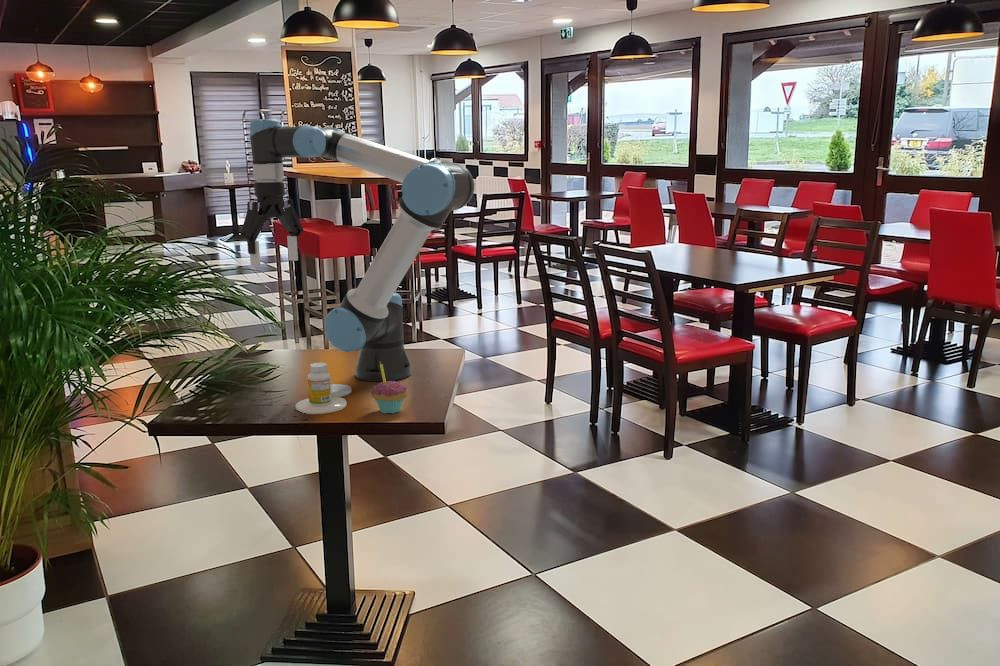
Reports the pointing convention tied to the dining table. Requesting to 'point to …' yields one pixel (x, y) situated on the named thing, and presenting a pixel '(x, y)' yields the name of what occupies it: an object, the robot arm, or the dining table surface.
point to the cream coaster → (333, 407)
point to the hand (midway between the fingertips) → (275, 263)
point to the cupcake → (389, 394)
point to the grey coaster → (340, 390)
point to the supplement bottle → (319, 385)
